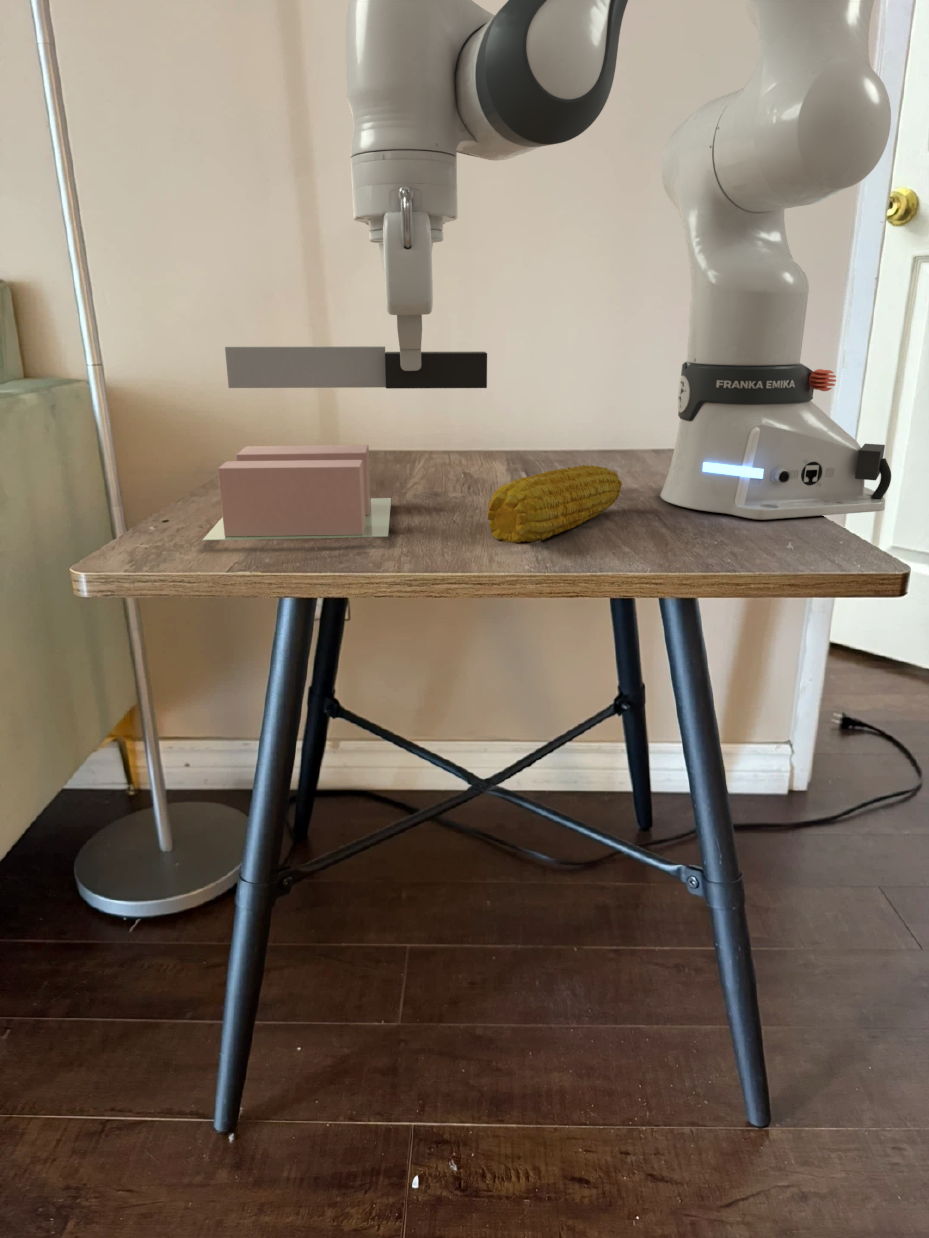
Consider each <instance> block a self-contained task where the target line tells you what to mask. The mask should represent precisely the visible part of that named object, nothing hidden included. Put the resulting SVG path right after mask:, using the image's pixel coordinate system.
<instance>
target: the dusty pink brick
mask: <svg viewBox="0 0 929 1238" xmlns="http://www.w3.org/2000/svg"><path fill="white" fill-rule="evenodd" d="M217 474H218V486H219V495H220V496H219V497H220V504H221V506H220V507H221V514H222V517H223V525H224V535H225V537H245V536H320V535H363V532H364V529H365V526H366V520H365V498H364V476H363V460H295V461H237V460H226V461H225V462H224V463H222V464H221V465H220V466H219V467H218V468H217Z"/></svg>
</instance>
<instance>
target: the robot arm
mask: <svg viewBox="0 0 929 1238" xmlns="http://www.w3.org/2000/svg"><path fill="white" fill-rule="evenodd" d="M874 1H875V0H744V3H745V10H746V14H747V16H748V18H749V20H750V22H751V23H752V25H753V26H754V27H755V28H756V29H757V49H756V58H755V64H754V68H753V71H752V74H751V75H750V78H749V80H748V81H747V83H746V85H745V86H744V87H743V88H740V89H737V90H734V91H732V92H730V93H727V94H724V95H722V96H719V97H717V98H714V99H711V100H709V101H707V102H705V103H703V104H702V105H701V106H700V107H698V108H697V109H696V110H695V111H693V112H692V113H691V114H690V115H688V116H687V117H686V118H685V119H683V120H682V122H680V124H678V126H677V127H675V129H673V131H672V132H671V133H670V136H669V137H668V139H667V141H666V143H665V145H664V147H663V148H664V149H663V151H662V155H661V163H660V173H661V174H660V175H661V180H662V184H663V188H664V191H665V194H666V195H667V197H668V199H669V200H670V202H672V204H673V205H674V207H675V208H676V210H677V211H678V214H679V216H680V220H681V225H682V228H683V233H684V238H685V243H686V250H687V256H688V262H689V270H690V272H689V273H690V304H689V318H688V319H689V320H688V321H689V323H688V335H687V336H688V337H687V350H686V351H687V352H686V361H684V362H683V363H682V364H681V372H680V373H681V374H680V376H679V380H678V381H679V382H678V390H677V391H678V393H677V416H678V417H679V423H678V428H677V433H676V439H675V445H674V449H673V454H672V458H671V463H670V466H669V469H668V472H667V476H666V478H665V482H664V484H663V487H662V489H661V491H660V494H659V497H660V498H661V499H662V500H663V501H665V502H667V503H670V504H672V505H675V506H678V507H682V508H686V509H690V510H691V509H692V510H697V511H703V512H709V513H719V514H727V515H731V516H732V515H733V516H736V517H740V518H746V519H752V520H760V521H761V520H763V521H765V520H777V519H790V518H805V517H817V516H818V517H819V516H831V515H832V516H833V515H846V514H847V515H848V514H861V513H873V512H874V513H875V512H883V511H885V508H886V499H885V497H884V496H885V494H886V493H887V492H888V490H889V487H890V486H891V482H892V471H891V467H890V465H889V463H888V461H887V458H885V457H884V455H885V454H884V453H885V449H886V448H885V447H886V444H880V443H864V444H863V445H862V446H861V445H860V444H859V442H858V440H856V439H855V438H854V437H853V436H851V434H849V433H848V431H846V430H845V429H844V428H842V427H841V426H840V425H839V424H838V423H836V422H835V420H833V418H831V417H830V416H829V414H827V413H826V412H825V411H823V410H822V409H821V408H820V407H819V406H817V404H816V403H814V401H812V400H813V399H814V391H815V390H817V391H818V390H819V391H821V392H828V391H830V390H832V389H833V387H834V386H835V385H836V382H837V379H834V378H837V376H836V375H835V372H834V371H832V370H830V369H822V368H819V369H815V370H814V371H813V370H812V369H811V368H810V367H808V366H806V365H804V364H803V363H801V357H802V350H803V342H804V341H803V340H804V334H805V333H804V332H805V324H806V317H807V316H806V315H807V308H808V300H809V299H808V298H809V292H810V286H809V279H808V276H807V274H806V272H805V270H804V269H803V268H802V267H801V265H799V263H797V262H796V260H795V259H794V257H793V255H792V252H791V250H790V246H789V243H788V238H787V231H786V224H785V210H787V209H792V208H798V207H804V206H810V205H816V204H818V203H820V202H822V201H825V200H827V199H830V198H831V197H833V196H836V195H838V194H840V193H842V192H844V191H846V190H848V189H850V188H851V187H853V186H855V185H857V184H859V183H860V182H861V181H863V180H864V179H865V178H866V177H868V175H870V174H871V172H873V170H874V169H875V168H876V166H877V165H878V163H879V162H880V160H881V158H882V156H883V154H884V152H885V150H886V148H887V144H888V141H889V138H890V132H891V127H892V126H891V125H892V109H891V102H890V97H889V93H888V90H887V88H886V86H885V84H884V82H883V80H882V78H880V76H879V75H878V74H877V73H876V71H875V70H874V69H873V68H872V66H871V62H870V52H869V50H870V49H869V40H870V39H869V37H870V26H871V25H870V24H871V17H872V12H873V6H874ZM628 2H629V0H507V1H506V2H505V3H504V5H503V6H502V7H500V8H499V10H498V12H496V14H493V13H492V12H490V11H488V10H486V9H485V8H483V7H482V6H481V5H479V4H478V3H476V2H475V1H474V0H349V2H348V5H347V14H346V26H345V27H346V28H345V79H346V80H345V81H346V98H347V103H348V106H349V109H350V113H351V116H352V117H351V118H352V123H353V136H352V141H351V145H350V146H351V147H350V151H349V158H350V176H351V177H350V179H351V195H352V196H351V197H352V214H353V215H352V216H353V220H354V221H356V222H357V223H364V224H365V225H367V226H368V231H369V233H368V238H369V242H370V243H374V244H378V247H379V252H380V258H381V264H382V271H383V277H384V291H385V294H384V295H385V306H386V311H387V313H388V314H389V315H391V316H396V322H397V323H396V327H397V329H396V330H397V336H398V337H397V338H398V345H399V346H398V347H399V352H400V363H401V368H402V369H403V370H404V371H417V370H419V369H420V368H421V352H422V340H423V339H422V337H423V315H430V314H431V313H432V311H433V308H434V307H433V306H434V284H433V283H434V282H433V247H434V246H433V244H434V243H441V242H443V241H444V225H445V224H446V223H449V222H453V221H456V220H457V219H458V160H457V159H458V157H457V155H458V154H462V155H466V156H471V157H475V158H479V159H483V160H487V161H495V162H497V161H505V160H509V159H513V158H516V157H518V156H521V155H525V154H527V153H529V152H532V151H535V150H536V149H539V148H541V147H546V146H552V145H558V144H563V143H565V142H570V141H571V140H573V139H575V138H576V137H577V138H578V136H580V135H581V134H583V133H584V132H585V131H586V130H588V129H589V128H590V127H591V125H592V124H594V123H595V121H596V120H597V118H598V117H599V116H600V114H601V112H603V109H604V107H606V106H605V105H606V104H607V102H608V99H609V96H610V93H611V90H612V87H613V83H614V79H615V73H616V67H617V60H618V59H617V58H618V50H619V41H620V34H621V28H622V23H623V19H624V14H625V11H626V8H627V6H628ZM833 382H834V383H833ZM879 476H880V480H879V484H878V485H877V487H876V489H875V490H874V489H870V488H868V487H865V483H866V481H877V480H878V478H879Z"/></svg>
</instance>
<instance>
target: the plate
mask: <svg viewBox="0 0 929 1238" xmlns="http://www.w3.org/2000/svg"><path fill="white" fill-rule="evenodd" d="M391 506H392V498H391V497H371V506H370V512H369V515H365V520H366V526H365V529H364V532H363V535H320V536H245V537H225V535H224V525H223V516H222V517H221V518H220V519H219V520H218V521H217V522H216V524H215V525H214V526H213V527H212V528H211V529H210V530H209V532H208V533H206V535H205V536H204V537H203V538H202V541H235V540H236V541H238V540H239V541H240V540H243V541H244V540H284V539H285V540H288V539H289V540H290V539H293V540H294V539H335V538H339V539H342V538H378V537H379V538H386V537H389V532H390V531H389V529H390V517H391V508H392V507H391Z"/></svg>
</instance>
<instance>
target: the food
mask: <svg viewBox="0 0 929 1238" xmlns="http://www.w3.org/2000/svg"><path fill="white" fill-rule="evenodd" d="M622 483H623V482H622V480H620V477H619V475H618V474H617V472H615V471H612V470H610V469H608V467H603V466H599V465H587V464H583V465H579V466H573V467H566V468H559V469H557V468H555V469H553V470H547V471H545V472H540V473H538V474H534V475H531V476H524V477H520V478H517V479H514V480H512V481H510V482H509V483H505V484H503V485H502V486H499V488H497V489H496V490H495V491H494V493H493V494H492V496H491V499H490V501H488V509H487V511H486V515H487V516H486V517H487V520H489V523H488V524H489V528H490V530H491V531H490V533H491V536H492V537H494V538H495V540H497V541H502V542H506V543H512V544H513V543H514V544H521V543H524V542H528V543H532V542H536V541H544V540H546V539H549V538H550V537H553V536H555V535H558V534H561V533H563V532H565V531H568V530H571V529H574V528H576V527H577V526H580V525H582V524H583V523H585V522H586V521H588V520H589V521H590V520H591V519H593V518H595V517H597V516H598V515H600V514H602V513H603V512H604V511H606V510H607V509H608V508H609V507H611V506H612V505H614V504H615V502H616V500H618V498H619V496H620V493H621V487H622V486H623V484H622Z"/></svg>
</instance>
